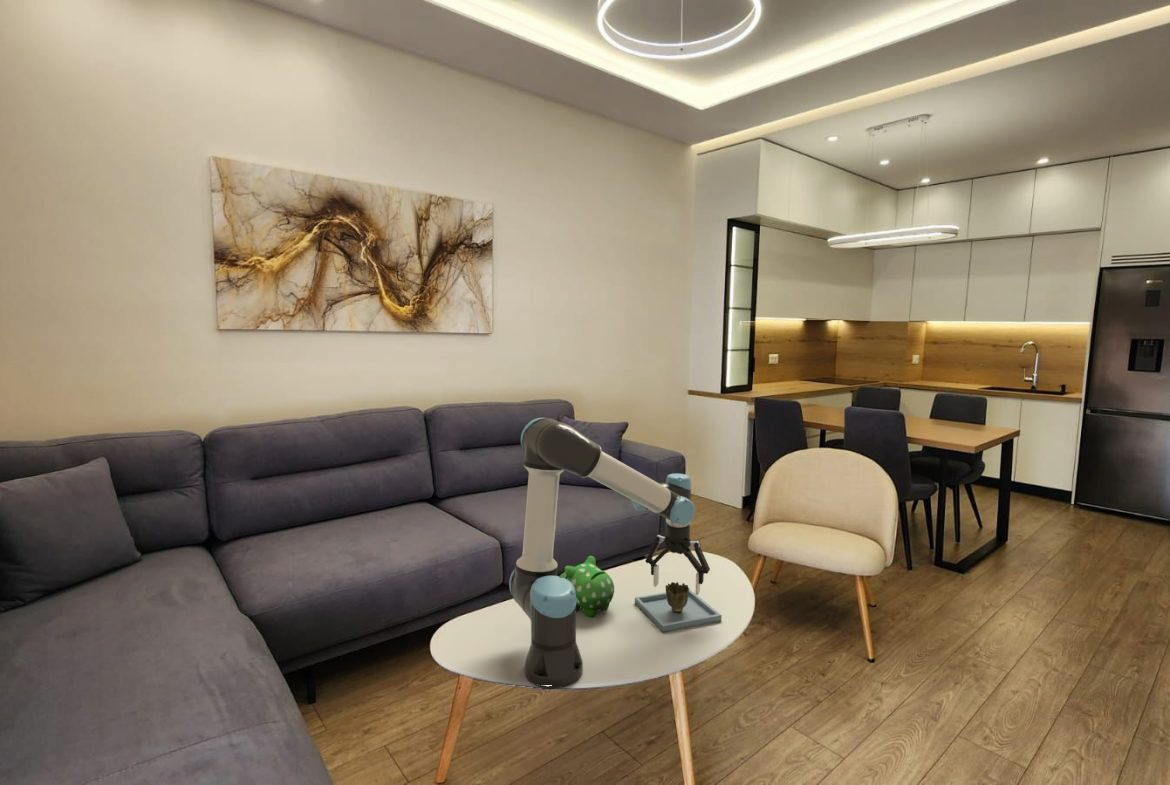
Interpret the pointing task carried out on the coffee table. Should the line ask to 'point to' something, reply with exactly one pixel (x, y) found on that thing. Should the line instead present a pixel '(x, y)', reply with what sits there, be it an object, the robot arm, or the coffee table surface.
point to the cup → (677, 596)
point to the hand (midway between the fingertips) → (676, 589)
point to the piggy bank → (590, 587)
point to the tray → (668, 620)
